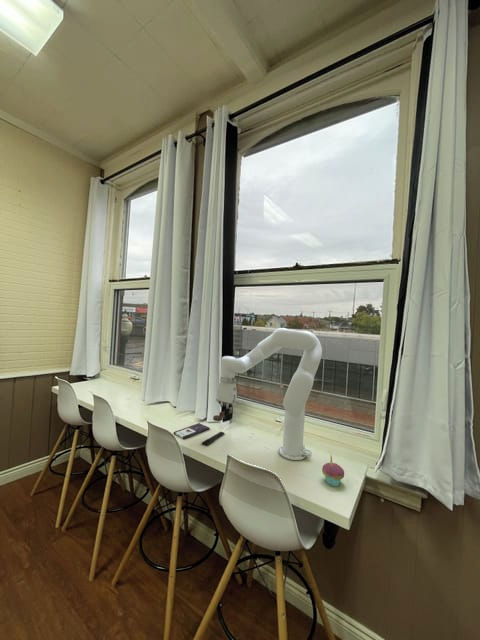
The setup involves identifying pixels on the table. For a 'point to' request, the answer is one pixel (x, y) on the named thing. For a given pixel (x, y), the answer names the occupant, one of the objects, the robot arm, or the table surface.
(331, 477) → the cupcake
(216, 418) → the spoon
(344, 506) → the table surface
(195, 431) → the chocolate bar
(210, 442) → the black remote control
